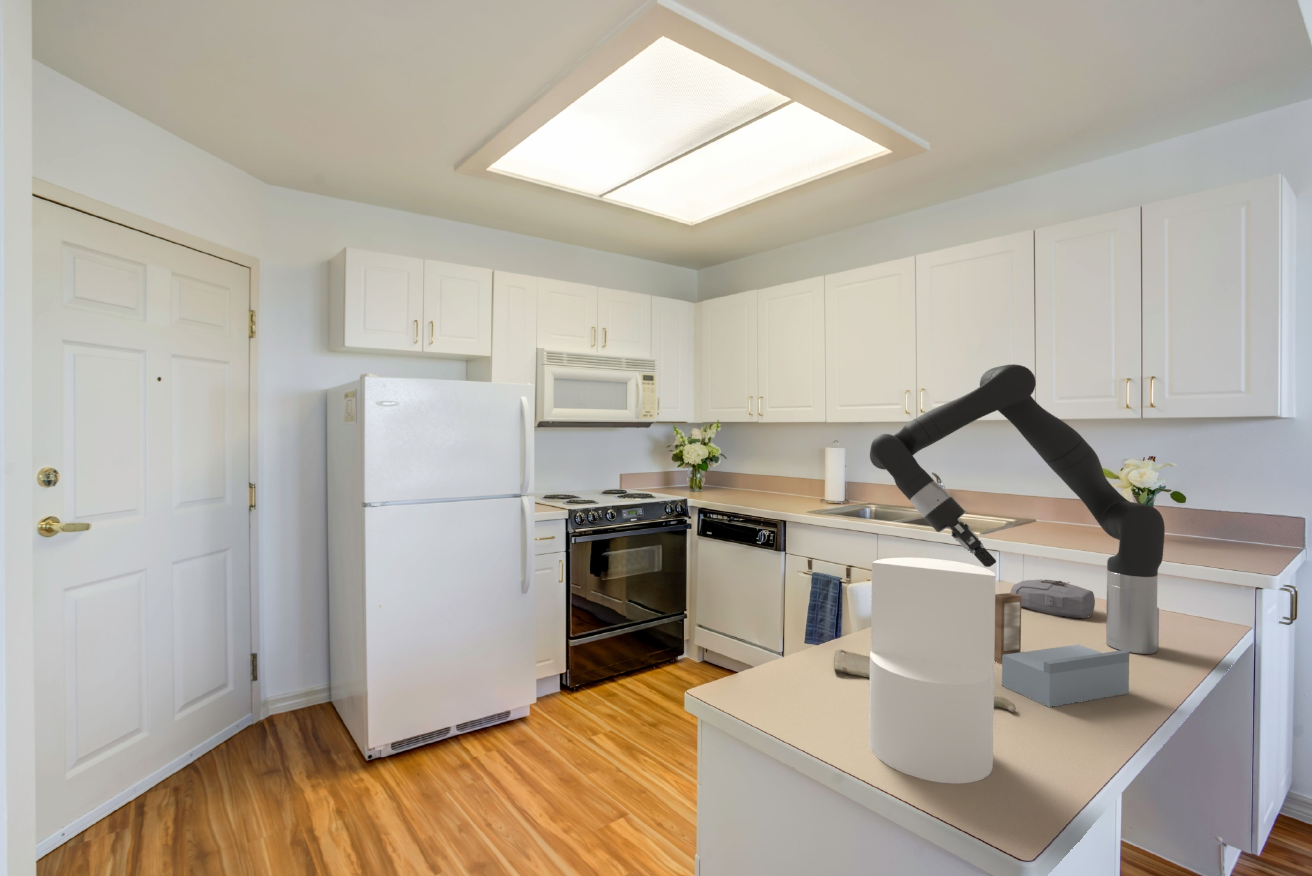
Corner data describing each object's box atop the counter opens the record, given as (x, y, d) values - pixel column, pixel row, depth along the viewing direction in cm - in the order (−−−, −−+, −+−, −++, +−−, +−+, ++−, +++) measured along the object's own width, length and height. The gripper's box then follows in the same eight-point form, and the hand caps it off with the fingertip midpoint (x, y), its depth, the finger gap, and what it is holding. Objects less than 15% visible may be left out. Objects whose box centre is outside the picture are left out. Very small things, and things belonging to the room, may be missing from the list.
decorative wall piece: (839, 704, 114) (1019, 718, 108) (839, 688, 114) (1019, 701, 108) (828, 647, 144) (968, 657, 138) (828, 635, 144) (968, 643, 138)
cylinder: (880, 716, 107) (882, 553, 107) (995, 742, 99) (997, 565, 98) (857, 761, 92) (859, 572, 92) (990, 797, 84) (993, 588, 83)
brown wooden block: (1003, 654, 138) (1004, 590, 138) (1027, 664, 132) (1028, 597, 132) (984, 657, 136) (985, 592, 136) (1007, 667, 130) (1008, 599, 130)
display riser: (1077, 673, 127) (1078, 635, 127) (1128, 693, 118) (1129, 652, 118) (1001, 685, 121) (1002, 645, 121) (1049, 707, 111) (1049, 663, 111)
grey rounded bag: (1099, 612, 172) (1019, 597, 187) (1100, 582, 172) (1020, 570, 187) (1084, 623, 162) (1001, 607, 177) (1084, 591, 162) (1001, 577, 177)
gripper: (950, 492, 134) (1009, 553, 127) (950, 498, 146) (1003, 554, 140) (921, 514, 135) (978, 576, 129) (924, 518, 148) (975, 574, 141)
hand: (991, 564), depth 134 cm, fingers open, 8 cm apart
